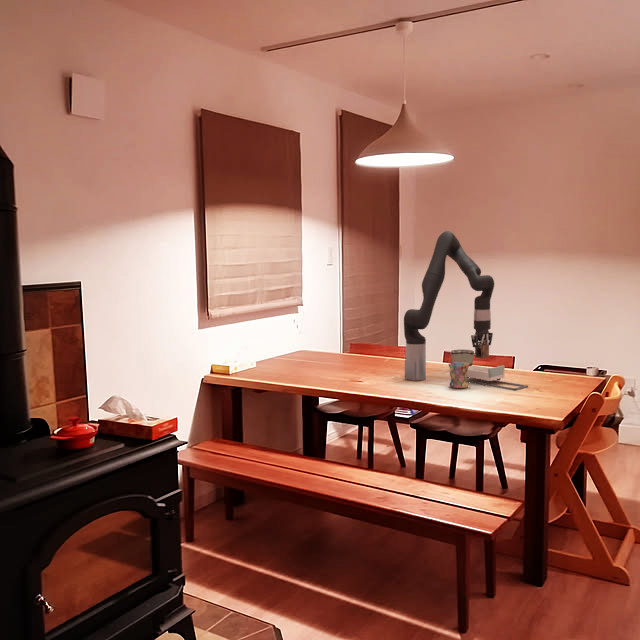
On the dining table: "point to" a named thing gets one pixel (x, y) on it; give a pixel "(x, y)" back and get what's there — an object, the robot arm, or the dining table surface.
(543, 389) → the dining table surface
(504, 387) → the rails
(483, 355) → the block
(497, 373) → the cart
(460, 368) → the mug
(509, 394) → the dining table surface
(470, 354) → the food container
